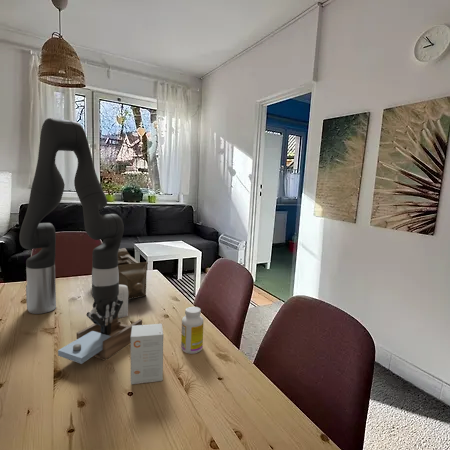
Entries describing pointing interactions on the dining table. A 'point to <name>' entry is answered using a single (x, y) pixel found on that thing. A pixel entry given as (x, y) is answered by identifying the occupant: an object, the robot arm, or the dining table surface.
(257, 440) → the dining table surface
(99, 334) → the lid
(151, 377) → the small box
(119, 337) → the box
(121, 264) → the ornamental box
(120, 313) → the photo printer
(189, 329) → the supplement bottle
